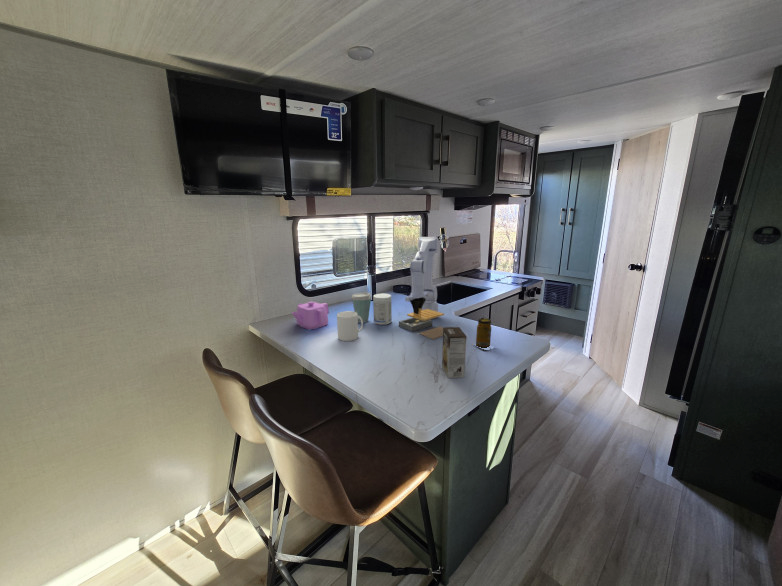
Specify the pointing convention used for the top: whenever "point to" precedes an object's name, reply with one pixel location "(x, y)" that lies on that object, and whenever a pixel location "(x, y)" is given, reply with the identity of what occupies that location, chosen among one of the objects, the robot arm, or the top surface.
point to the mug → (348, 325)
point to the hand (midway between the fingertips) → (417, 313)
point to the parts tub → (414, 324)
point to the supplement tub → (382, 309)
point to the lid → (425, 314)
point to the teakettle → (312, 315)
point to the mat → (433, 333)
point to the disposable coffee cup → (362, 305)
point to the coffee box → (454, 352)
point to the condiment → (483, 333)
